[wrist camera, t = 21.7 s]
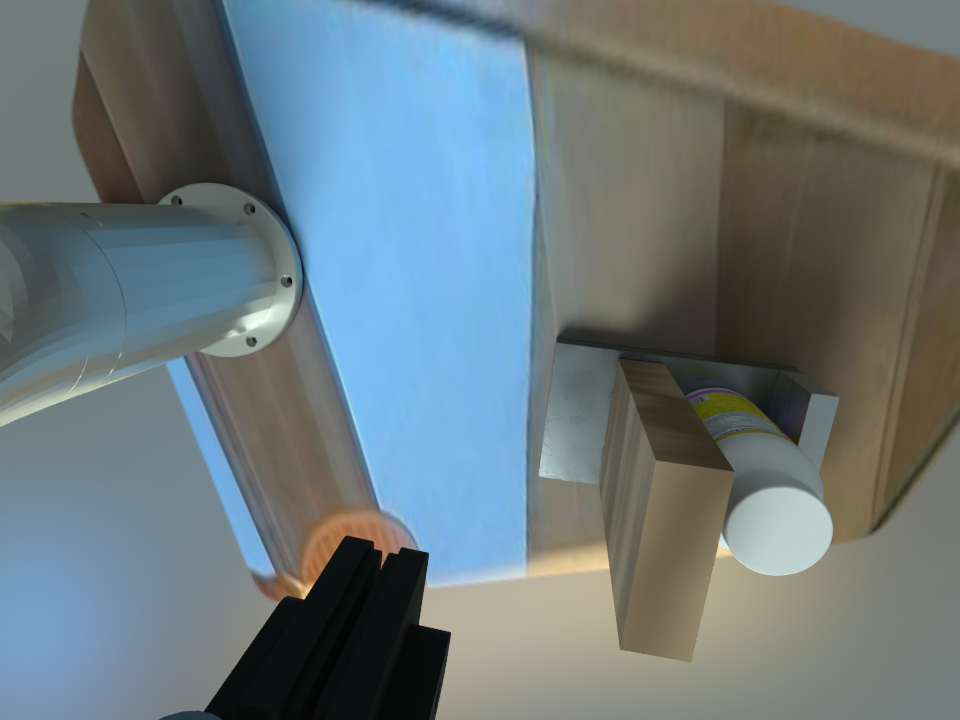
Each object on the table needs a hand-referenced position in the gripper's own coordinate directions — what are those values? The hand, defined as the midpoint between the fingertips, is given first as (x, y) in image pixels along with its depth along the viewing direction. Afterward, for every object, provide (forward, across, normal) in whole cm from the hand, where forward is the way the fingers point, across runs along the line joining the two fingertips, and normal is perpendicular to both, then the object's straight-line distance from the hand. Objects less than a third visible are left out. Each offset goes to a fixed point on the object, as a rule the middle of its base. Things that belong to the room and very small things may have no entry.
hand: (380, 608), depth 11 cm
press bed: (+30, -12, +5) cm, 33 cm away
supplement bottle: (+29, -15, +5) cm, 33 cm away
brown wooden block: (+28, -10, +5) cm, 30 cm away
